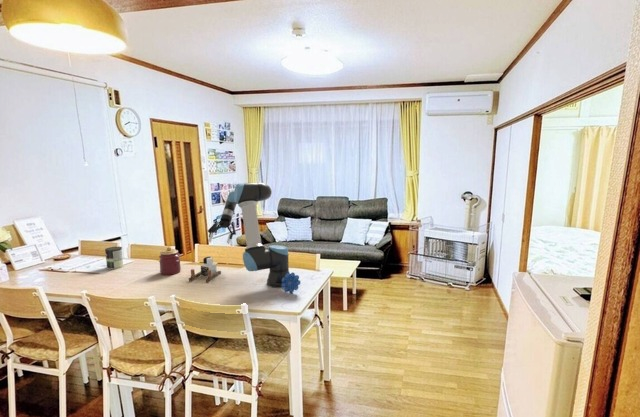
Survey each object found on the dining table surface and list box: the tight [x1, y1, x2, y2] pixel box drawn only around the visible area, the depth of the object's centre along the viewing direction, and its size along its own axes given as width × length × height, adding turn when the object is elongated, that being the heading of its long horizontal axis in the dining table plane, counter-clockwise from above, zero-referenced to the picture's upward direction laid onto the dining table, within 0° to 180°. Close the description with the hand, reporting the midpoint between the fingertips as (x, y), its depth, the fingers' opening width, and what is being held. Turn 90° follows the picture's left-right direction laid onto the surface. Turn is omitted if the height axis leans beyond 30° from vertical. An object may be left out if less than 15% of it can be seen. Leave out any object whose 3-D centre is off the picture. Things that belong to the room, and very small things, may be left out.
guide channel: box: [188, 268, 222, 283], centre depth 215 cm, size 17×14×6 cm
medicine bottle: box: [200, 256, 218, 278], centre depth 219 cm, size 7×7×12 cm
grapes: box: [280, 272, 301, 294], centre depth 189 cm, size 12×7×12 cm, turn 74°
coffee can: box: [104, 246, 124, 270], centre depth 238 cm, size 10×10×14 cm
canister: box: [158, 246, 182, 276], centre depth 226 cm, size 13×13×18 cm
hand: (218, 242), depth 231 cm, fingers open, 13 cm apart
